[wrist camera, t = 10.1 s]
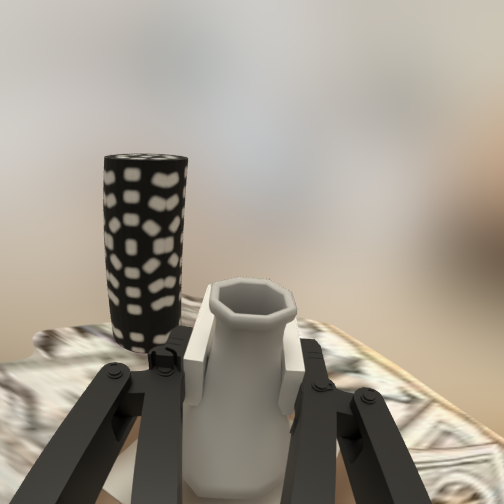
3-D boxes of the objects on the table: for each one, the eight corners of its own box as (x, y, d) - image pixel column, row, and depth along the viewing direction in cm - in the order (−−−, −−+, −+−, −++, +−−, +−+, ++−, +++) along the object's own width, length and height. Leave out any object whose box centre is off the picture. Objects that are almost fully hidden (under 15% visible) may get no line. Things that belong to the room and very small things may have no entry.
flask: (320, 479, 13) (392, 333, 9) (185, 516, 10) (165, 377, 7) (267, 395, 19) (293, 254, 16) (157, 412, 16) (144, 259, 13)
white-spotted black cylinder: (124, 309, 39) (122, 152, 32) (185, 316, 39) (193, 156, 32) (103, 346, 31) (90, 159, 24) (175, 357, 32) (179, 162, 25)
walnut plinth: (54, 500, 13) (31, 473, 11) (188, 382, 28) (188, 348, 27) (290, 633, 6) (310, 635, 5) (367, 450, 22) (386, 419, 20)
